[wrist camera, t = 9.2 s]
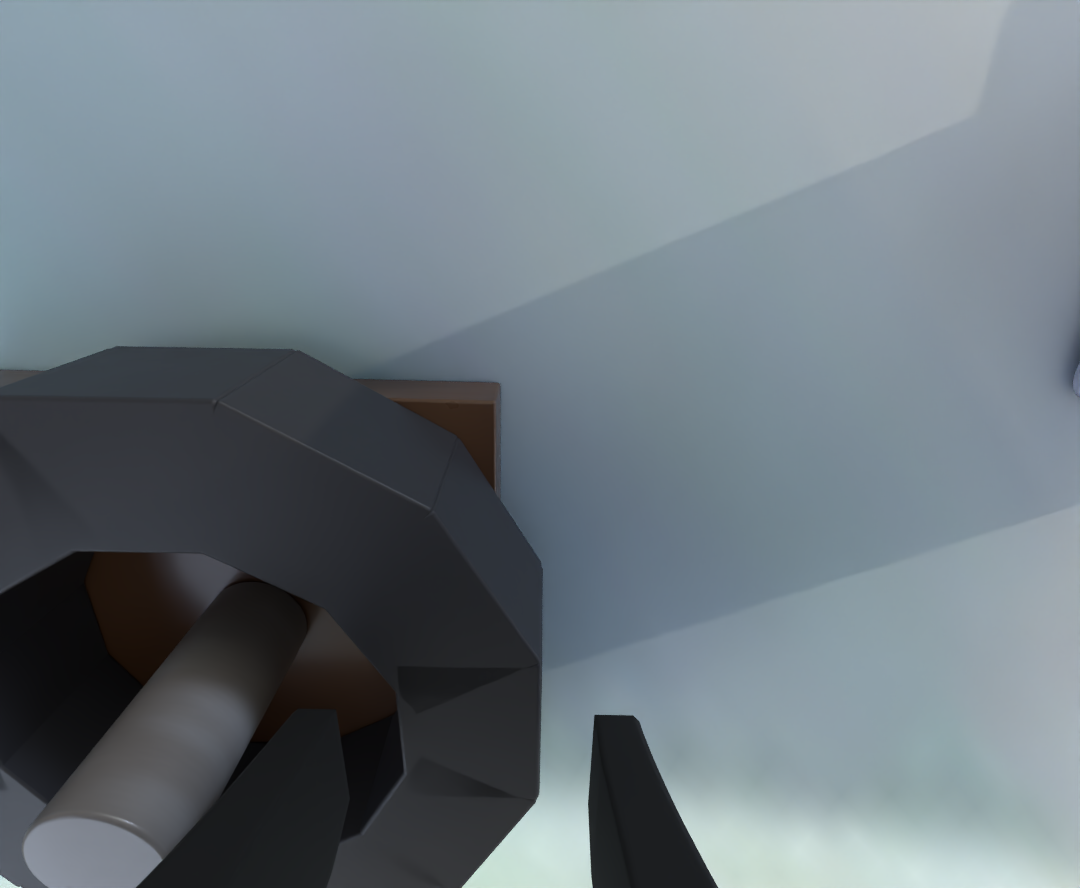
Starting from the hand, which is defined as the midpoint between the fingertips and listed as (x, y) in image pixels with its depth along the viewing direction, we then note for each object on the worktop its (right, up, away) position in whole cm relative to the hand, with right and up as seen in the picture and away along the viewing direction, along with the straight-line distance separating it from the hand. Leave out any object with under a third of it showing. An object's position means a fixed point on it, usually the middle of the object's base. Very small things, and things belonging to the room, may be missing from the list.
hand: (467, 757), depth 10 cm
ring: (-5, +1, +3) cm, 6 cm away
